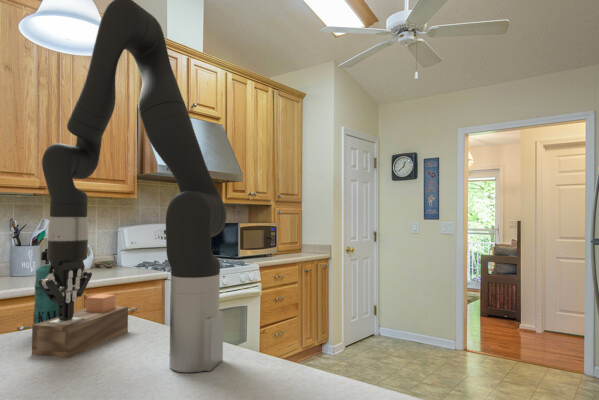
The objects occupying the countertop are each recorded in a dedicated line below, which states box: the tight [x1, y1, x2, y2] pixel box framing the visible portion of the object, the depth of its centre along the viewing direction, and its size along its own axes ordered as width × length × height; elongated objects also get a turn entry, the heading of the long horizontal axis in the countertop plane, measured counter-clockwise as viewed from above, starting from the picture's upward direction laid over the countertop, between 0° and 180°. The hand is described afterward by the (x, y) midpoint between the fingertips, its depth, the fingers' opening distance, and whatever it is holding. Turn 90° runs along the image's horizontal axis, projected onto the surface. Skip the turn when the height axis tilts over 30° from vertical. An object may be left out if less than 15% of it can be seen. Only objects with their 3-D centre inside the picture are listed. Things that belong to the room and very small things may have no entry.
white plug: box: [49, 317, 83, 325], centre depth 87 cm, size 4×4×5 cm
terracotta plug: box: [86, 293, 116, 313], centre depth 98 cm, size 4×4×5 cm
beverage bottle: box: [32, 250, 63, 325], centre depth 98 cm, size 6×7×20 cm
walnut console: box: [31, 305, 129, 359], centre depth 92 cm, size 9×19×6 cm, turn 169°
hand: (65, 319), depth 87 cm, fingers closed
